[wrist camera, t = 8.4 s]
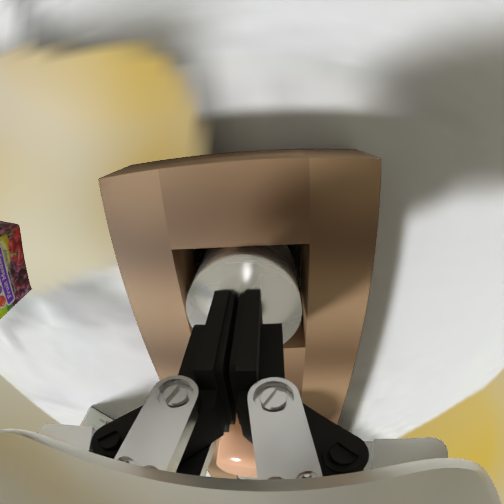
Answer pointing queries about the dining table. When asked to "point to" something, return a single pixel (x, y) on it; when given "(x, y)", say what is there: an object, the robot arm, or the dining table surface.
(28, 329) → the dining table surface
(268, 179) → the walnut mount
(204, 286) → the steel knob
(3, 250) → the snack box
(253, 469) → the peach knob
